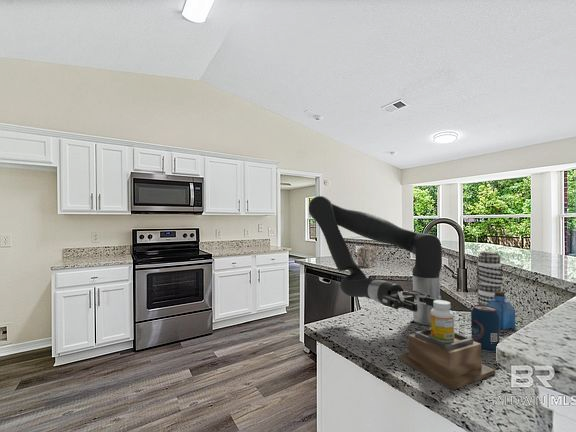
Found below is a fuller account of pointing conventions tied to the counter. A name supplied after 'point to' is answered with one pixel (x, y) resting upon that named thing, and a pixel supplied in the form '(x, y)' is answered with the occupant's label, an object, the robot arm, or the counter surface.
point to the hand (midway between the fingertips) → (427, 305)
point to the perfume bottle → (503, 310)
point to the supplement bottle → (442, 321)
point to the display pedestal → (446, 359)
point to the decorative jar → (367, 256)
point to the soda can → (485, 327)
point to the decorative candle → (488, 276)
